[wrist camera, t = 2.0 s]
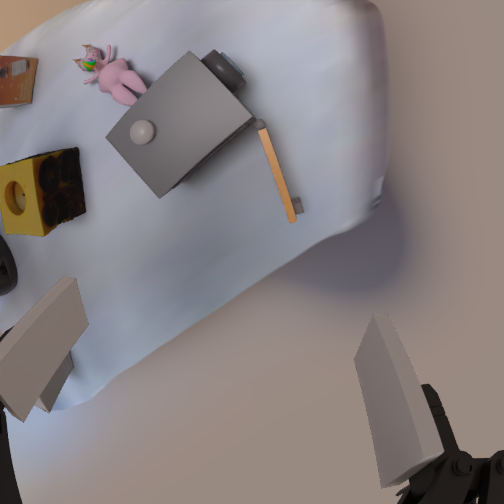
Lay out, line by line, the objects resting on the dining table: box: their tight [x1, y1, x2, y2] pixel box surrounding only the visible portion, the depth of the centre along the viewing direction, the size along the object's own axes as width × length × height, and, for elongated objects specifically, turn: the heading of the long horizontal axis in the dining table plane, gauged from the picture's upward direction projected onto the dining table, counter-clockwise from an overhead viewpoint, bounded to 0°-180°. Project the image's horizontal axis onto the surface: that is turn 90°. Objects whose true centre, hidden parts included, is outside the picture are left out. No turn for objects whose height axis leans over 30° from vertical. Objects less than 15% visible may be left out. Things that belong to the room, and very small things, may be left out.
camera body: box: [106, 50, 256, 199], centre depth 26 cm, size 14×9×9 cm, turn 130°
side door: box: [254, 119, 304, 223], centre depth 29 cm, size 11×2×5 cm, turn 20°
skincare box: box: [34, 353, 73, 413], centre depth 45 cm, size 8×7×16 cm
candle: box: [0, 147, 86, 237], centre depth 30 cm, size 10×10×10 cm
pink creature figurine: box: [72, 45, 147, 106], centre depth 25 cm, size 6×6×15 cm
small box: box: [0, 56, 38, 108], centre depth 22 cm, size 8×6×10 cm
